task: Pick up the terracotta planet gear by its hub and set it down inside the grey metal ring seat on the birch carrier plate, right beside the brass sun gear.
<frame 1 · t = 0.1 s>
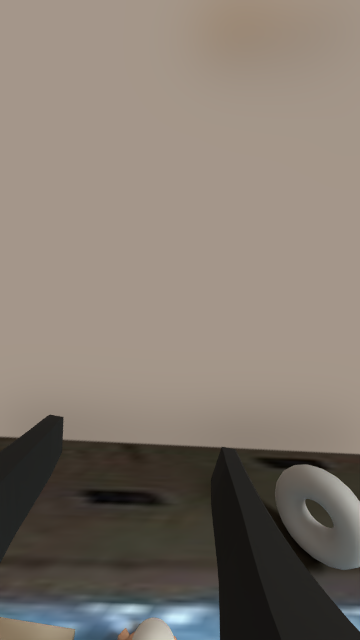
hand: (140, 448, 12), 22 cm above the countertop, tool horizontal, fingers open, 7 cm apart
donut: (303, 546, 31), on the countertop
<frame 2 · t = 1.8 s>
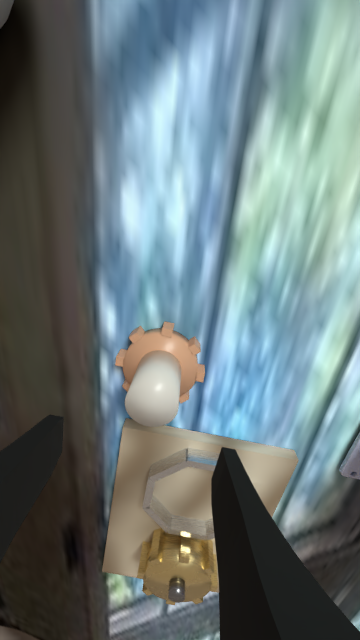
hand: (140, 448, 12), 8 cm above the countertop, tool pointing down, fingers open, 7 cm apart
carrier plate: (187, 512, 25), on the countertop
sun gear: (179, 538, 26), resting on carrier plate
planet gear: (161, 361, 19), on the countertop
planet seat: (197, 478, 23), resting on carrier plate
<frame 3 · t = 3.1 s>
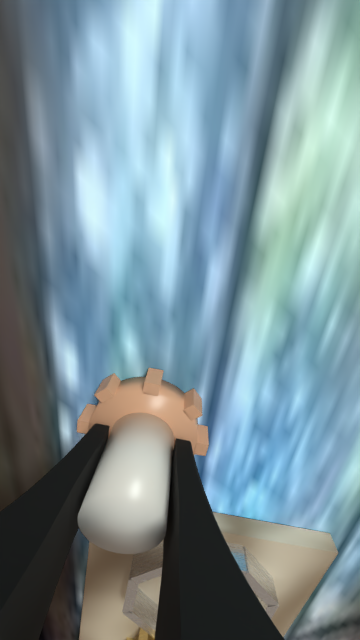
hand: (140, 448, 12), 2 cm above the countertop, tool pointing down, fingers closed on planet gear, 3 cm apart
carrier plate: (184, 600, 19), on the countertop
sun gear: (174, 628, 20), resting on carrier plate
planet gear: (146, 420, 13), on the countertop, touching gripper
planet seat: (197, 563, 17), resting on carrier plate
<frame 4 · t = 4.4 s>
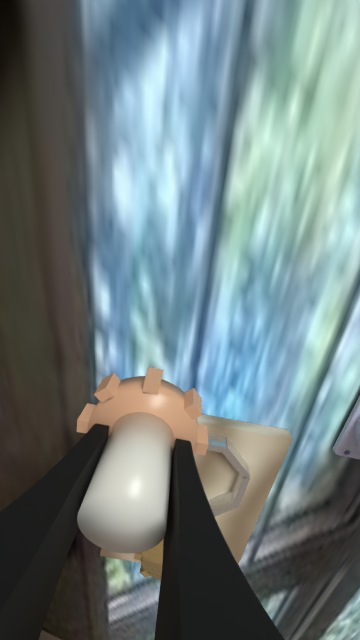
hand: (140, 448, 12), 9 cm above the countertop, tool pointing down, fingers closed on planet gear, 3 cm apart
carrier plate: (183, 494, 25), on the countertop
sun gear: (176, 522, 26), resting on carrier plate
planet gear: (146, 420, 13), point 7 cm above the countertop, touching gripper
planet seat: (193, 460, 23), resting on carrier plate
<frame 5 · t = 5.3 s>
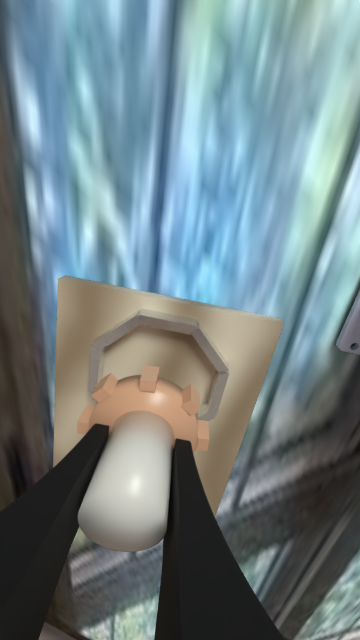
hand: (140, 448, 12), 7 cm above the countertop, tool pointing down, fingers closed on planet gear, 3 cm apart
carrier plate: (151, 415, 20), on the countertop
planet gear: (146, 418, 13), point 6 cm above the countertop, touching gripper
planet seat: (160, 365, 19), resting on carrier plate
when the fingers open (4 cm above the countertop, at t = 6.1 s): planet gear drops 1 cm, resting on carrier plate.
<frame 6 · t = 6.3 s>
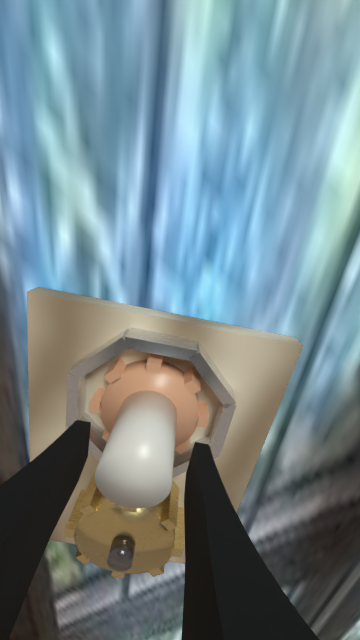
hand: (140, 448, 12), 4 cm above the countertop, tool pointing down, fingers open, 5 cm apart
carrier plate: (143, 447, 17), on the countertop
sun gear: (135, 488, 19), resting on carrier plate
planet gear: (152, 400, 15), point 1 cm above the countertop, touching carrier plate
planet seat: (153, 391, 16), resting on carrier plate
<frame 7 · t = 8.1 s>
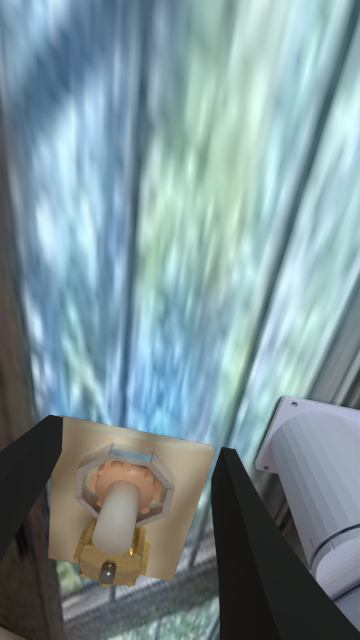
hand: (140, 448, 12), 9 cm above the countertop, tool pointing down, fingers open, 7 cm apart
carrier plate: (123, 502, 27), on the countertop
sun gear: (118, 527, 28), resting on carrier plate
planet gear: (127, 480, 24), point 1 cm above the countertop, touching carrier plate
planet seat: (129, 471, 25), resting on carrier plate
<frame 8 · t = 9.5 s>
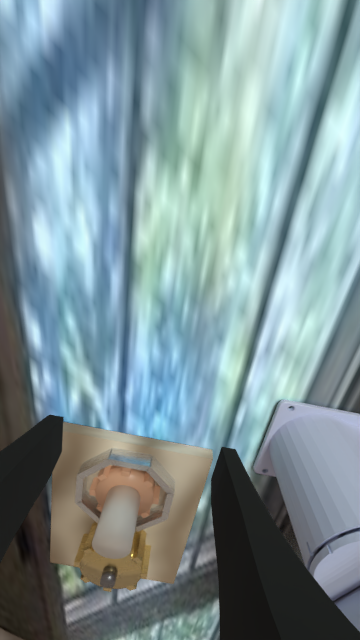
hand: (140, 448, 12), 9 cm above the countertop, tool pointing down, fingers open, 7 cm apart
carrier plate: (123, 506, 27), on the countertop
sun gear: (119, 531, 28), resting on carrier plate
planet gear: (127, 484, 24), point 1 cm above the countertop, touching carrier plate
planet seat: (129, 475, 25), resting on carrier plate
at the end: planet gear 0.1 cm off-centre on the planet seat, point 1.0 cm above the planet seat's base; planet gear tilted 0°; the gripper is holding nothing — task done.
